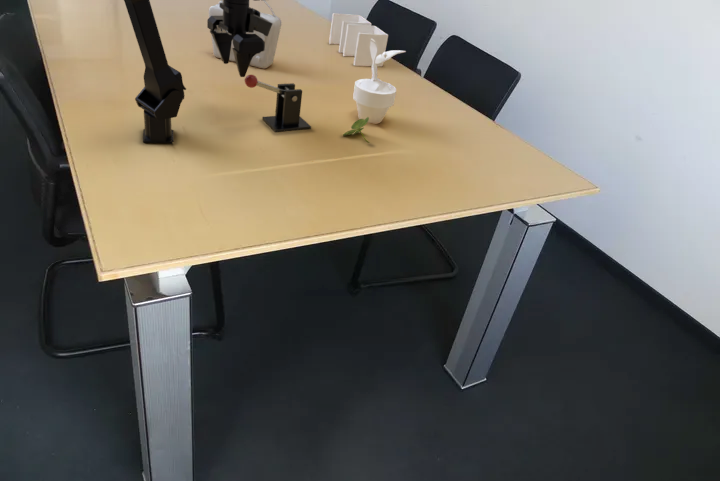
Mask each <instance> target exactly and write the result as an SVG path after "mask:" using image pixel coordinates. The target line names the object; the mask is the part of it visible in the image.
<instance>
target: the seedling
mask: <svg viewBox="0 0 720 481" xmlns="http://www.w3.org/2000/svg"><path fill="white" fill-rule="evenodd" d="M368 120H369V117H367V118H366V119H365V120H364V119H359V118H358V119H357V120H355V121H354V123H353V124H352V125H351V130H348V131H346V132H344V133H343V134H342V135H343V136H348V135H356V134H358V133H360V134H361V135H362V137H363V139H364V141H365V142H367V143H369V144H370V142H369V141H368V140H367V139H366V138H365V136H364V134H363V132H362V131H363V130H364V129H365V127H364V126H366V125H367V124H368V123H367V122H368Z"/></svg>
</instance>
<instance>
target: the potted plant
mask: <svg viewBox="0 0 720 481" xmlns="http://www.w3.org/2000/svg"><path fill="white" fill-rule="evenodd" d="M370 40H371V42H370V53H371V57H372V60H373V63H372V66H371V78H359V79H357V80H355V81H354V88H353V94H352V99H353V101H355V104H356V110H357V118H358V120H359V119H364V120H365V119H366V118H367V117H369V120H368V122H367V123H366V124H374V125H375V124H376V125H377V124H380V123H381V122H383V119H384V118H385V116H386V114H387V112H388V111H389V110H390V108H391V107H393V106H394V105H395V100H396V95H397V87H395V86H394V85H392V83H389V82H386V81H384V80H381V79H380V78H378V76H379V75H378V66H377V64H381V63H383V64H384V63H385V62H388V61H389V60H390V59H391V58H392V57H394V56H396V55H399V54H403V53H406V52H407V51H406V50H399V49H397V50H396V49H395V50H393V49H392V50H387V51H385V52H384V53H383V51H382V52H381V53H380V55H378V56H377V53H378V46H377V44H376V42H375V40H374V39H370ZM386 41H387V42H388V41H389V40H388V39H387V40H386V38H385V35H384V38H383V39H382V40H381V42H382V43H383V47H384V44H385V42H386ZM382 50H383V49H382Z"/></svg>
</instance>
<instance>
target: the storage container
mask: <svg viewBox="0 0 720 481" xmlns="http://www.w3.org/2000/svg"><path fill="white" fill-rule="evenodd" d="M329 31H330V32H329V39H328V44H329V45H339V46H338V53H339V54H341V53H342V57H354V58H353V66H354V67H372V63H373V60H372V57H371V53H370V42H371V40H370V39H374V40H375V42H376V44H377V46H378V53H377V56H378V55H380V53H381V52H382V51H383V53H384V52H386V50H387V44H388V41H386V42H385V44H384V47H383V43H382V42H381V40H382V39H383V38H384V35H385V38H386V40H388V39H389V34H388V33H386V32H384V31H383V30H382V29H380V28H379V27H378V26H376V25H372V23H371V22H370V21H369V20H368V19H366V18H364V17H363V16H362V15H360V14H349V13H333V12H332V16H331V25H330V30H329ZM382 49H383V50H382ZM383 66H384V62H383V63H381V64H377V67H383Z"/></svg>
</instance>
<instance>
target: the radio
mask: <svg viewBox="0 0 720 481" xmlns="http://www.w3.org/2000/svg"><path fill="white" fill-rule="evenodd" d="M262 2H264V3H265V5H266V6H267V7H268V8H269V9H270V12H271V13H272V14H270V13H265V12H261V11H259V12H260V17H263V18H264V19H266V20H268V21H269V22H271V23H272V27H271V29H270V32H269V34H268V36H265V35H264V34H262V33H260V32H257V31H255V30H254V33H248V32H246V34H256V35H258V36H259V37H260V38H262V39H263V41H264V42H265V50H264V51H261V53H259V54H256V55H255V56H253V58H252V60H251V62H250V65H249V67H250V66H251V67H253V68H254V67H255V68H259V69H267V68H269V67H270V66H271V65H272V64H274V61H275V55H276V51H277V48H278V43H279V42H278V41H279V37H280V32H281V29H282V19H281V18H280V17H279V16H277V15H276V14H275V12H274V10H273V8H272V7H271V5H270V4H269V2H268V1H267V0H262ZM220 3H223V0H219V1H218V3H217V4H214V5H211V6H209V9H208V18H209V17H210V16H223V9H221V8H220ZM210 36H211V44H212V53H213V56H214V57H216V58H217V59H221V60H222V58H221V55H220V53H219V50H218V48H217V46H216V43H215V41H214V39H213V37H212V34H211V33H210ZM232 48H234V46H233V40H232V44H231V51H230V58H229V62H233V63H236V60H235V57H234V53H233V49H232Z"/></svg>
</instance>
